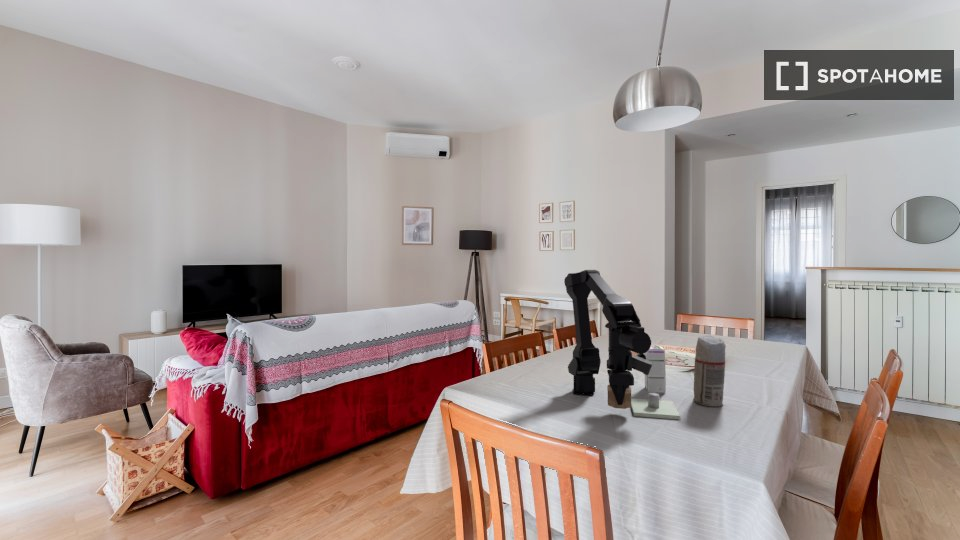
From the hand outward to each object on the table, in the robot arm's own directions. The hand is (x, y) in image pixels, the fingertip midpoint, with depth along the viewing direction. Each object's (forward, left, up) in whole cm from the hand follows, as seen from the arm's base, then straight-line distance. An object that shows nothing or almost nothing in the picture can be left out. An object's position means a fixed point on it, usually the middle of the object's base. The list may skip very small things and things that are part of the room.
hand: (619, 400), depth 119 cm
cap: (0, 0, -1) cm, 1 cm away
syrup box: (+13, +25, -4) cm, 29 cm away
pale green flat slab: (+10, +6, -4) cm, 12 cm away
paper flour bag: (+27, +16, -4) cm, 32 cm away
